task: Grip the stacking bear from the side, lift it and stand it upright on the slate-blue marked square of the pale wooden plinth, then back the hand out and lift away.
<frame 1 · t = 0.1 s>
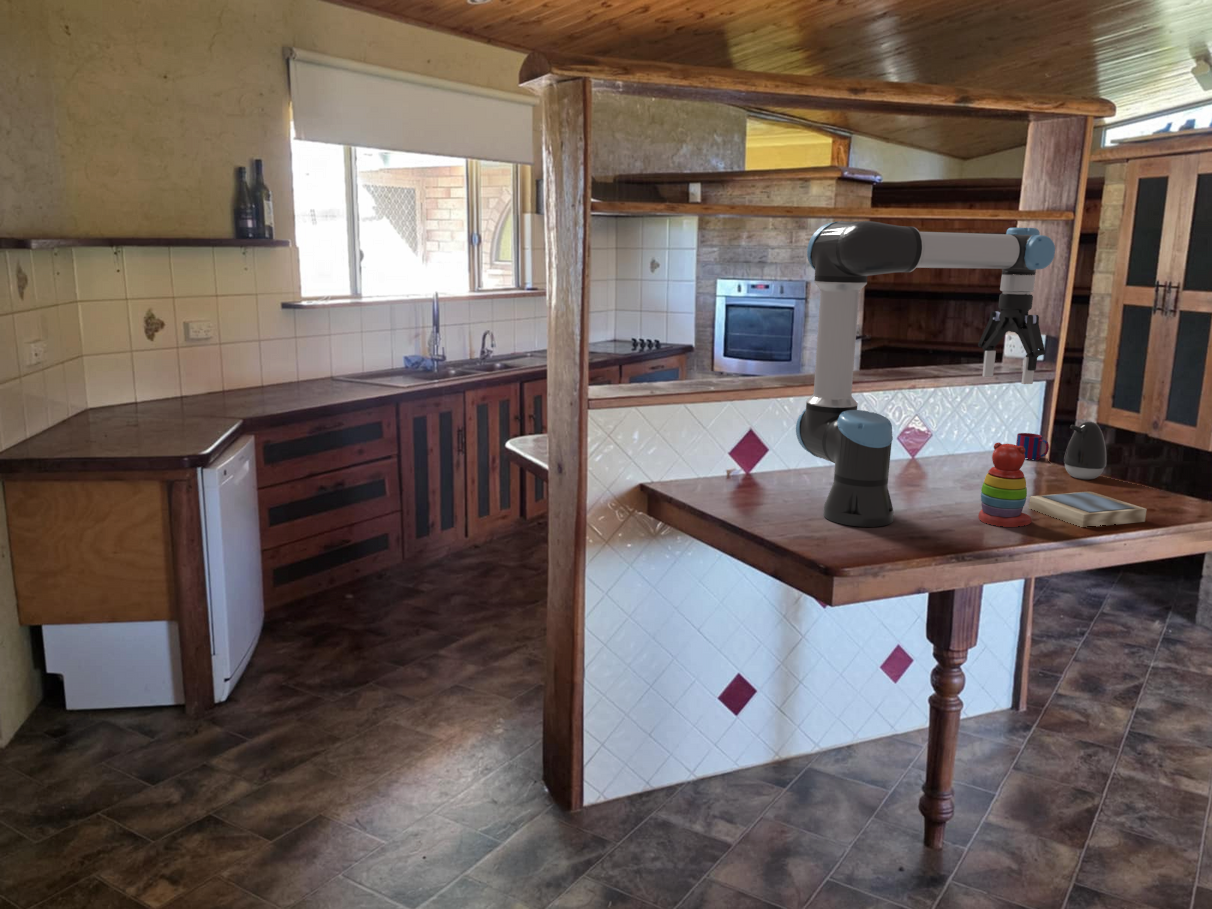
hand: (1006, 380, 236), 28 cm above the counter, tool pointing down, fingers open, 13 cm apart
plinth: (1085, 515, 220), on the counter
mug: (1031, 459, 279), on the counter
pump dispenser: (1082, 478, 257), on the counter
stacking bear: (1001, 522, 214), on the counter
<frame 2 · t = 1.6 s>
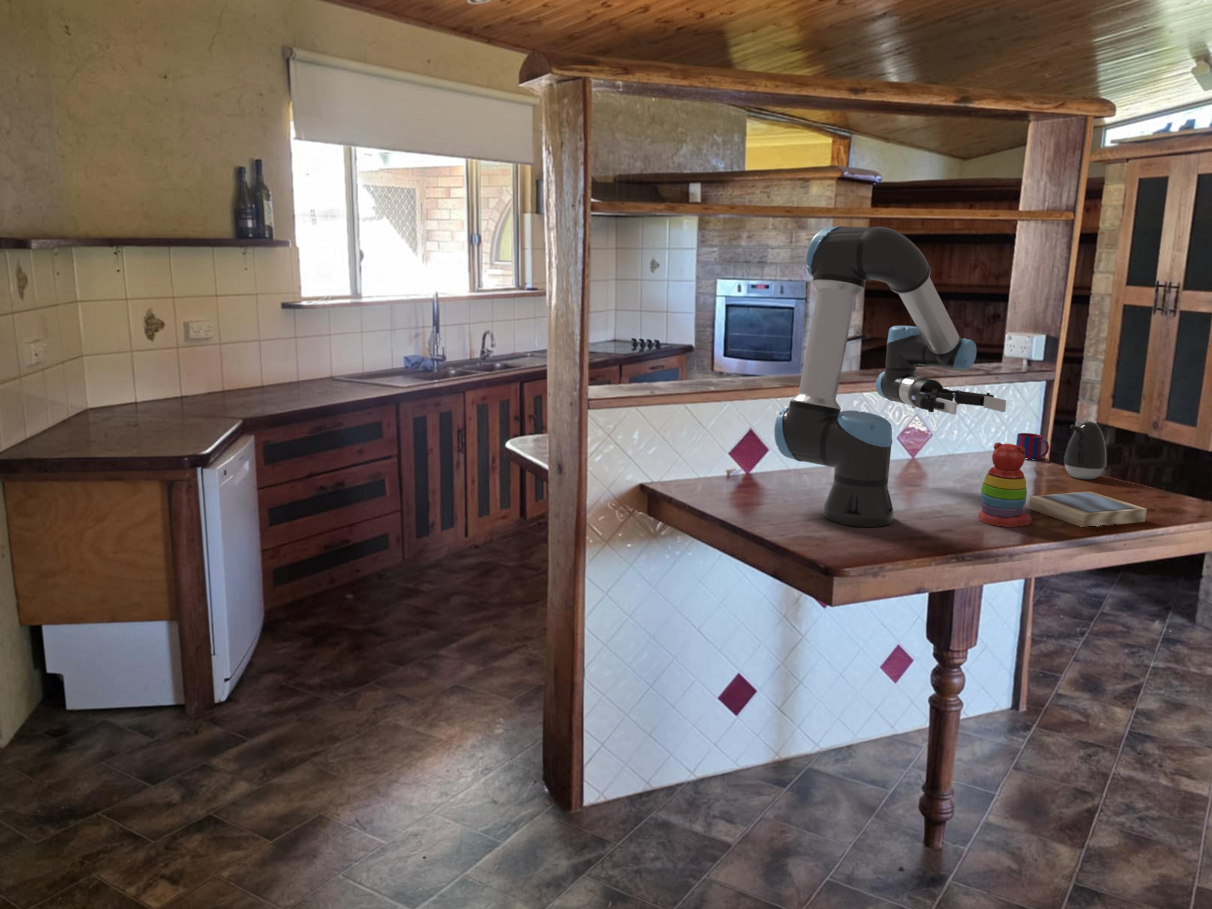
hand: (980, 407, 218), 24 cm above the counter, tool horizontal, fingers open, 13 cm apart
nothing on the counter moved.
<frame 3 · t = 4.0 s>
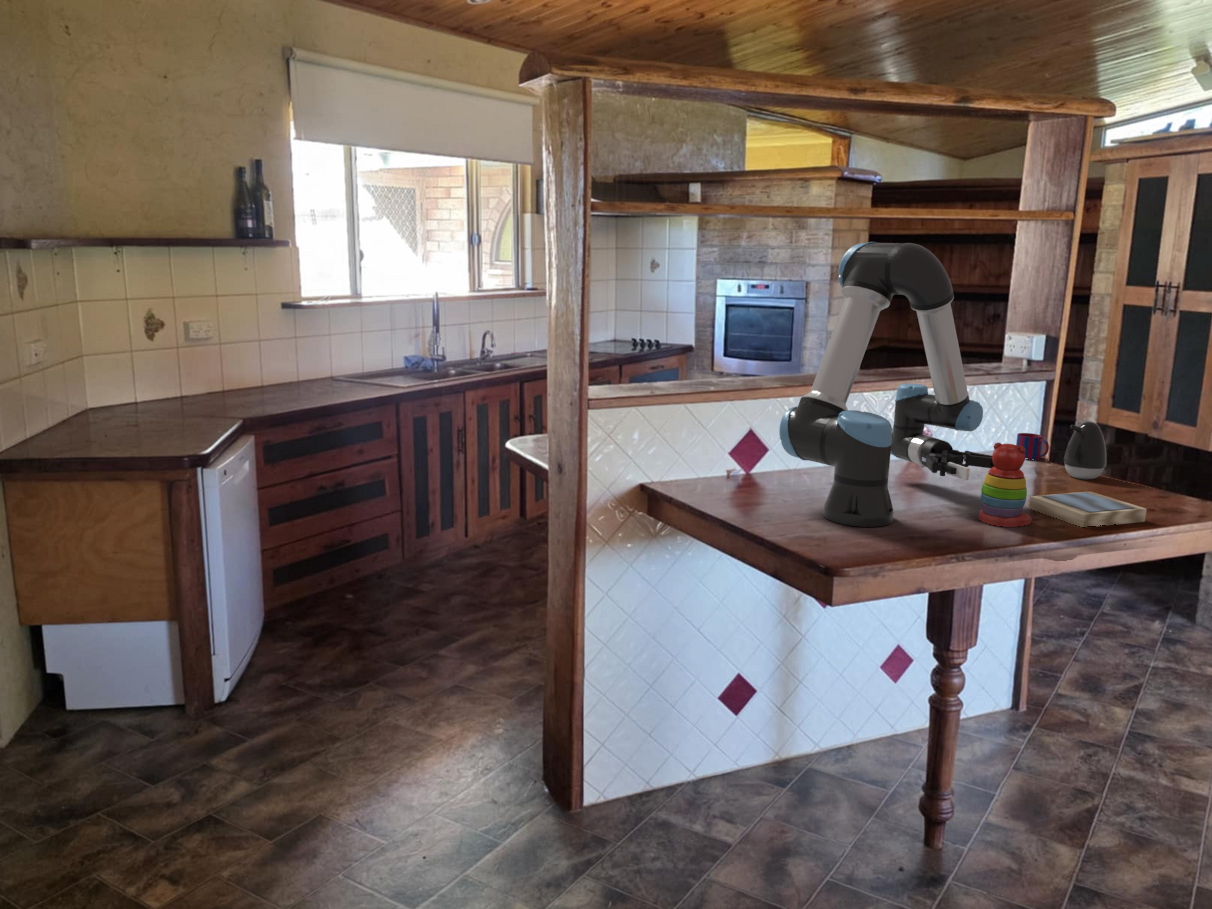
hand: (992, 472, 217), 10 cm above the counter, tool horizontal, fingers open, 13 cm apart
nothing on the counter moved.
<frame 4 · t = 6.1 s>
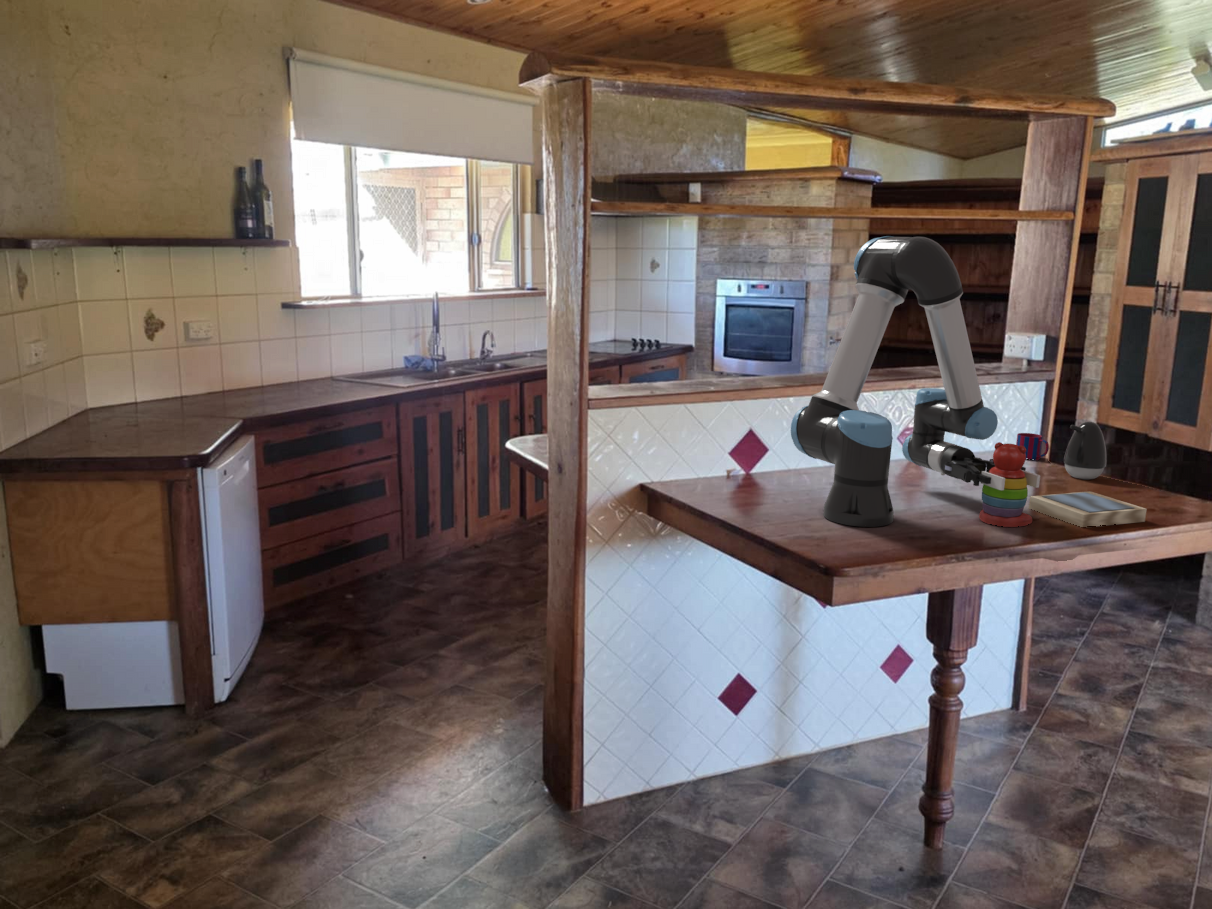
hand: (1020, 482, 208), 10 cm above the counter, tool horizontal, fingers closed on stacking bear, 9 cm apart
stacking bear: (1001, 522, 214), on the counter, touching gripper
everything else where it was.
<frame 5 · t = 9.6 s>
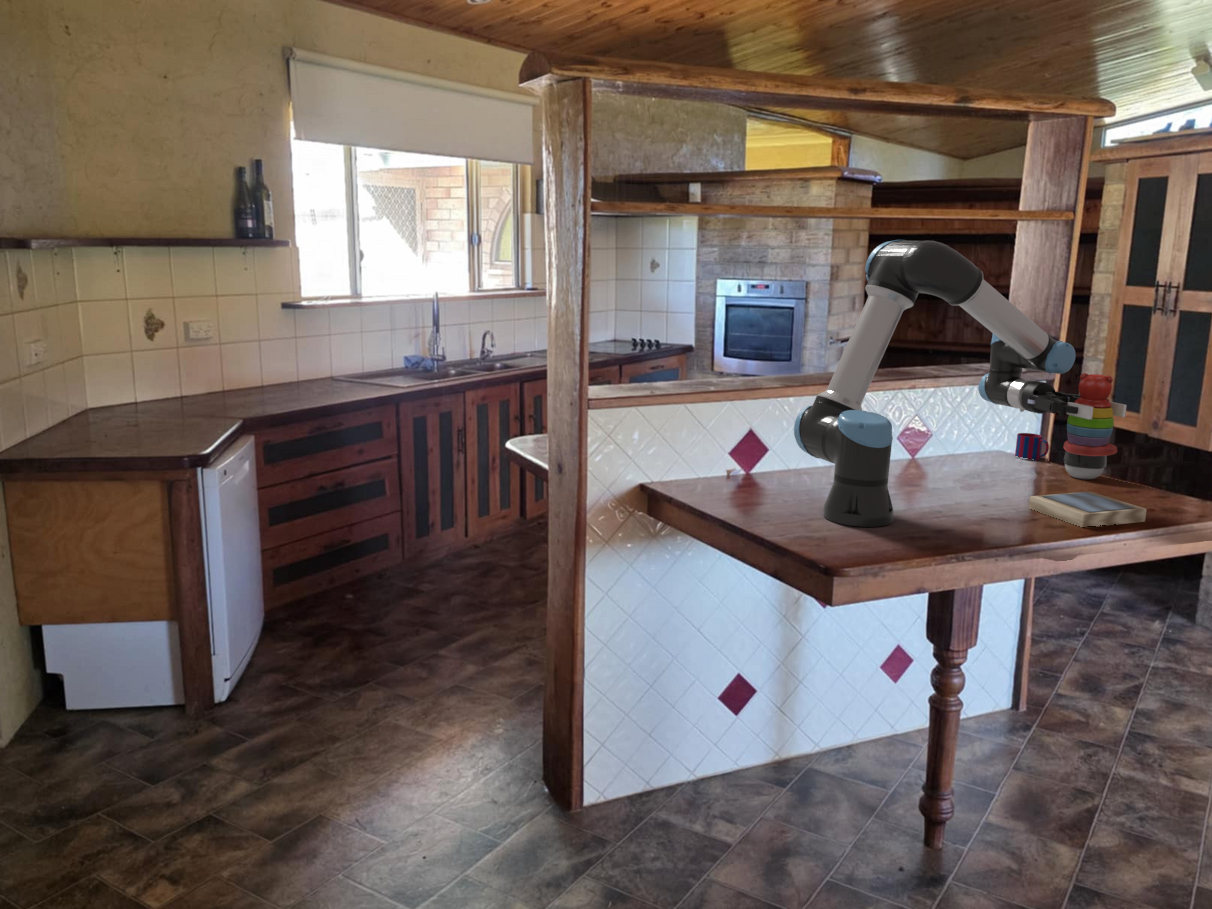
hand: (1108, 412, 210), 25 cm above the counter, tool horizontal, fingers closed on stacking bear, 9 cm apart
stacking bear: (1086, 452, 217), point 15 cm above the counter, touching gripper
everything else where it was.
when the fingers open (14 cm above the counter, at t = 13.0 s): stacking bear drops 1 cm, resting on plinth.
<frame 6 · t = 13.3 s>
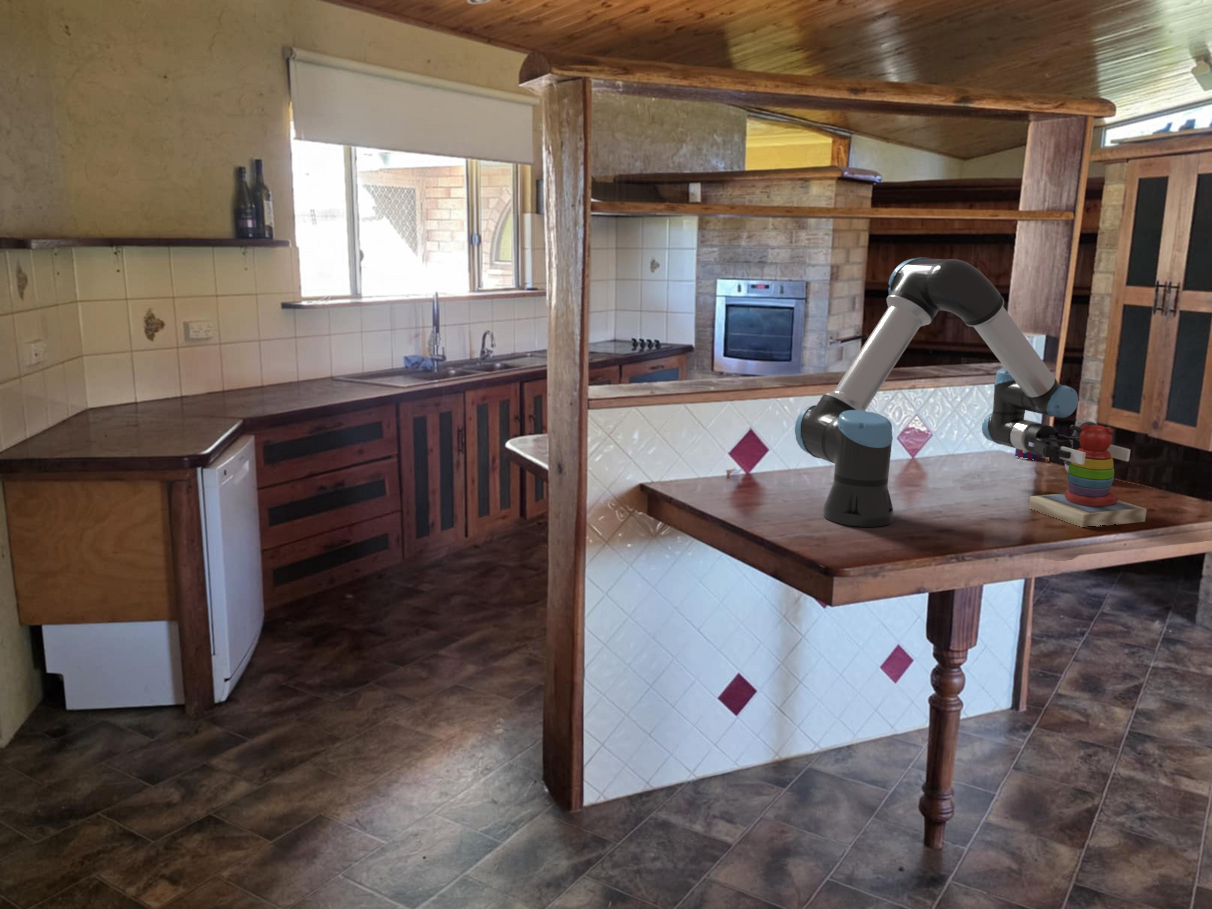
hand: (1106, 457, 214), 14 cm above the counter, tool horizontal, fingers open, 12 cm apart
stacking bear: (1088, 501, 220), point 3 cm above the counter, touching plinth
everything else where it was.
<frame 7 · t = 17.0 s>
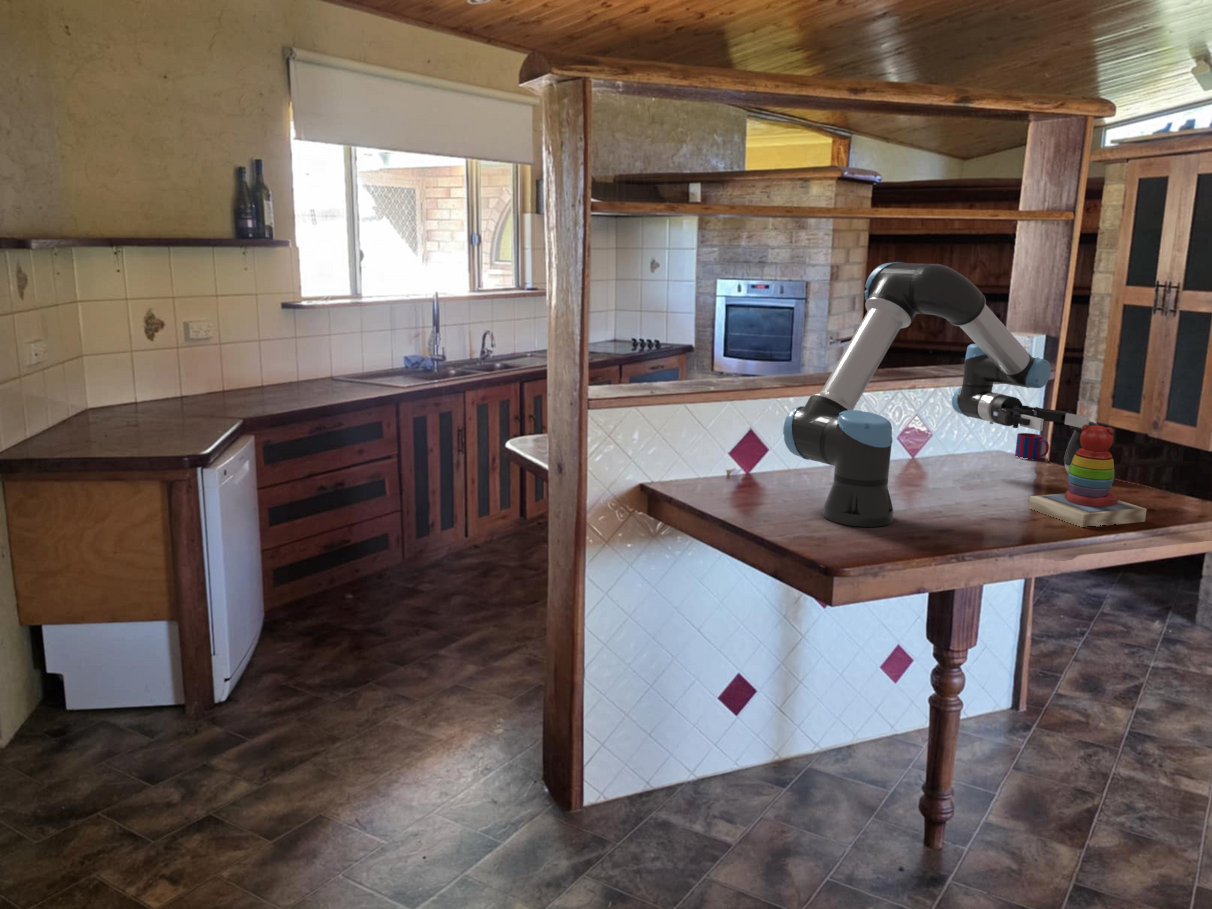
hand: (1064, 424, 225), 19 cm above the counter, tool horizontal, fingers open, 13 cm apart
nothing on the counter moved.
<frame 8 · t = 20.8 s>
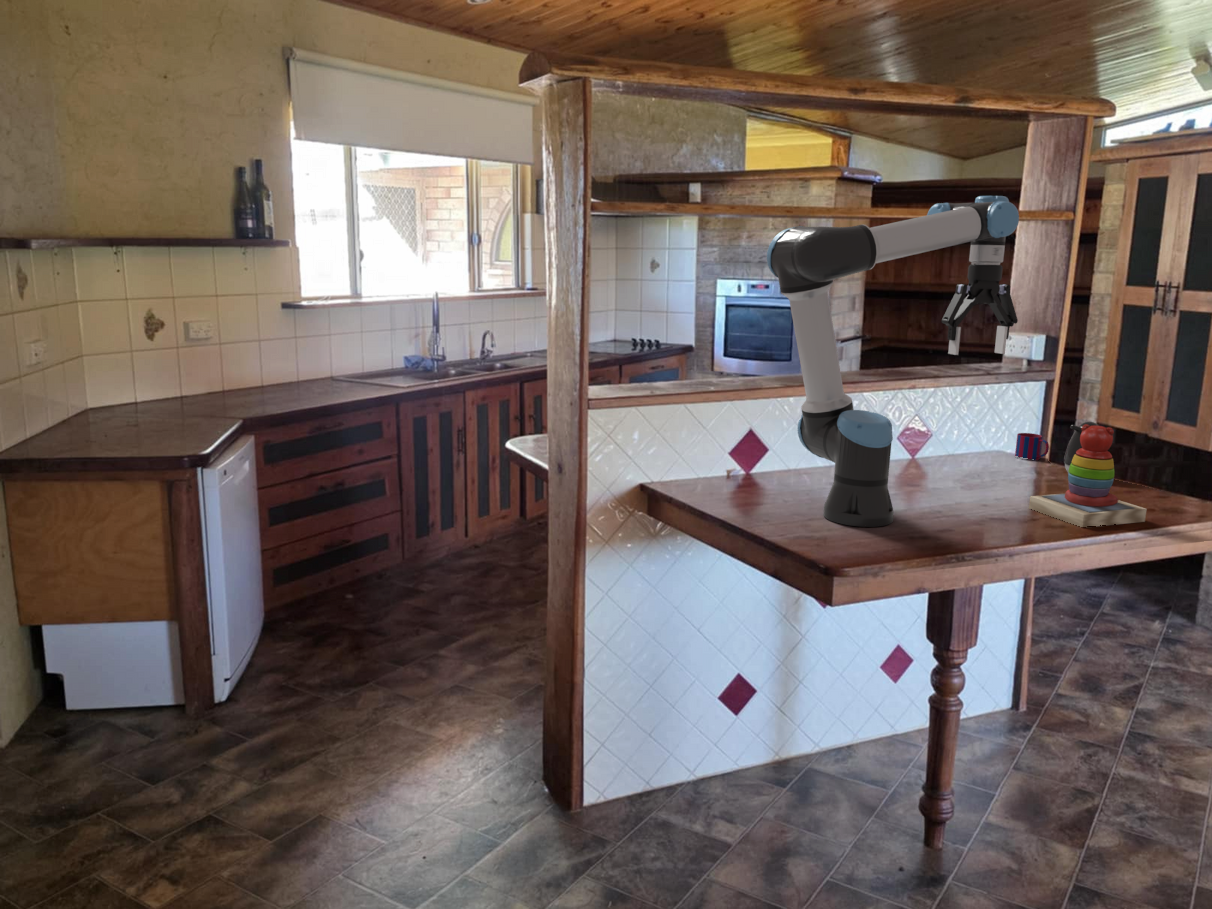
hand: (976, 353, 230), 35 cm above the counter, tool pointing down, fingers open, 13 cm apart
nothing on the counter moved.
at the end: stacking bear inside the target area on the plinth (0.2 cm from its centre), point 3.0 cm above the plinth's base; stacking bear tilted 0°; the gripper is holding nothing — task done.
